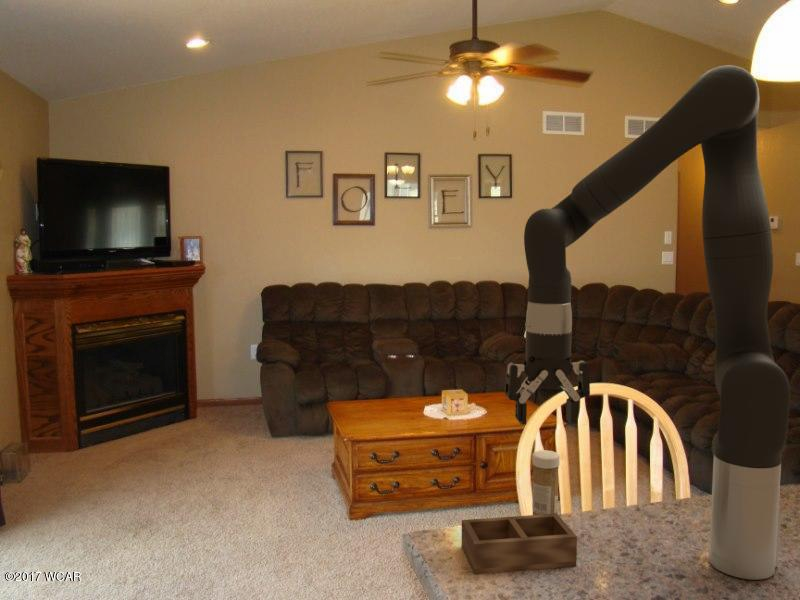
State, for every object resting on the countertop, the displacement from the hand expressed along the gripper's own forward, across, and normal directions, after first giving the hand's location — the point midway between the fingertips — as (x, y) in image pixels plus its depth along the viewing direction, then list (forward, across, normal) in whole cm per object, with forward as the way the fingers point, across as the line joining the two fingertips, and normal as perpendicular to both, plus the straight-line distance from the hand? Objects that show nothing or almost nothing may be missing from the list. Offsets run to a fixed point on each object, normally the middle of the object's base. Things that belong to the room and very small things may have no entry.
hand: (546, 422), depth 120 cm
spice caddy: (+19, -8, -9) cm, 22 cm away
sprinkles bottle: (+19, 0, 0) cm, 19 cm away
